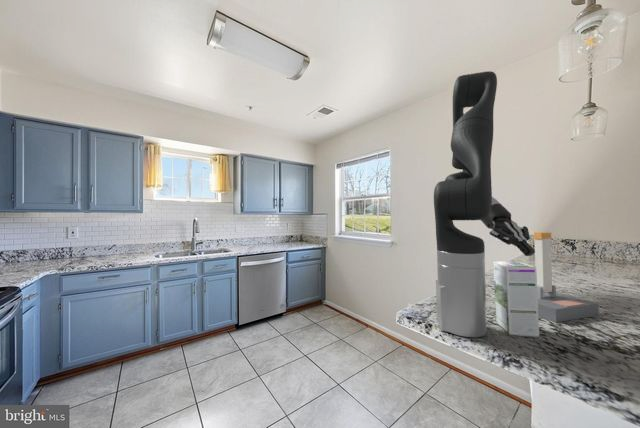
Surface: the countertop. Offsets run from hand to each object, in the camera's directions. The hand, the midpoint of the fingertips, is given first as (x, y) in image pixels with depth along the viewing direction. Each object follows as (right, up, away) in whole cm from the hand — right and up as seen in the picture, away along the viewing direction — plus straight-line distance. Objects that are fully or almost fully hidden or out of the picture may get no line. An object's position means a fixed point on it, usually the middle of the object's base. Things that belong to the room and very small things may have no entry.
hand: (531, 254), depth 66 cm
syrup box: (-16, -14, -14) cm, 26 cm away
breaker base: (+1, -14, -3) cm, 14 cm away
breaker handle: (+1, -10, -3) cm, 10 cm away
